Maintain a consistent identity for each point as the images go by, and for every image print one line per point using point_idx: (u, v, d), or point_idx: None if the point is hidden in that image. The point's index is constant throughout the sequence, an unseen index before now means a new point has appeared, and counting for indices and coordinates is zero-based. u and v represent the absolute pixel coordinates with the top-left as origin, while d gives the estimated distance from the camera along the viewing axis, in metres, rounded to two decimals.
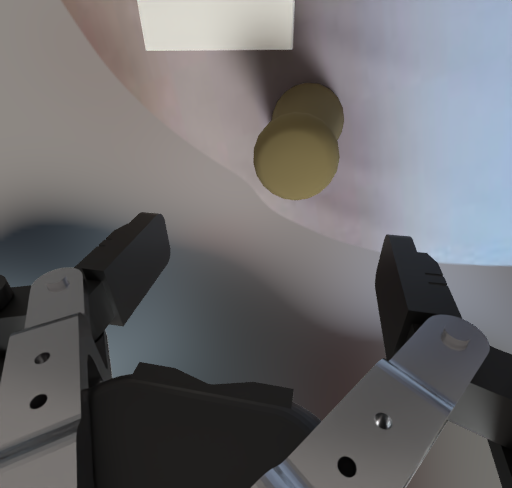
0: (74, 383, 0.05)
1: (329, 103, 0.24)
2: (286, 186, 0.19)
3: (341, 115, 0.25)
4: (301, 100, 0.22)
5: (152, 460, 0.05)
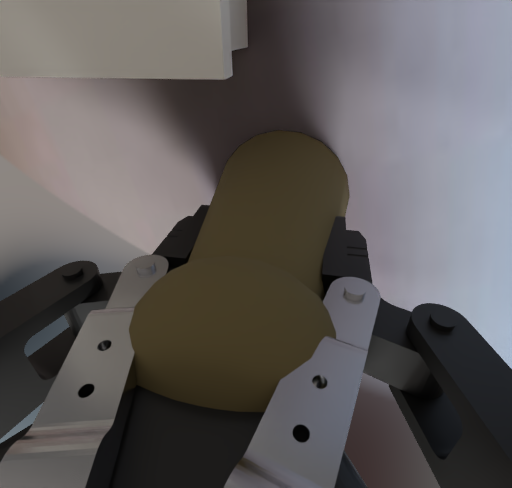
0: (120, 382, 0.05)
1: (321, 181, 0.11)
2: None
3: (345, 193, 0.13)
4: (259, 186, 0.10)
5: (152, 460, 0.05)
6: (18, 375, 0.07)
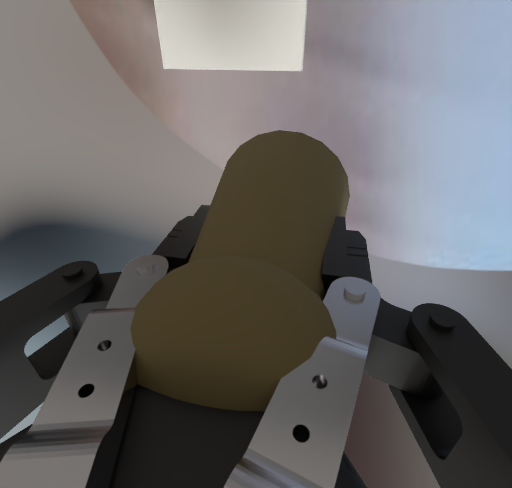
0: (120, 382, 0.05)
1: (322, 182, 0.11)
2: None
3: (345, 194, 0.13)
4: (259, 186, 0.10)
5: (152, 460, 0.05)
6: (18, 375, 0.07)
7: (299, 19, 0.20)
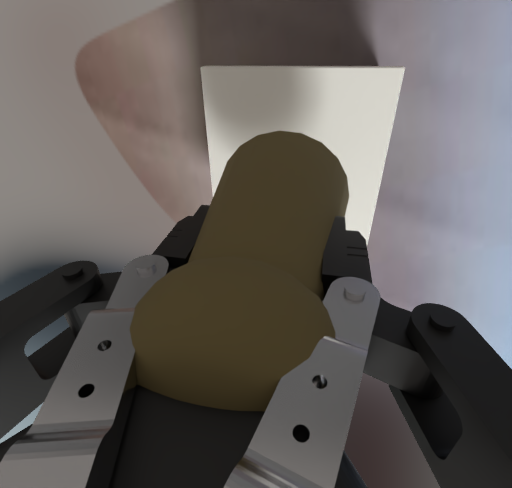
0: (120, 382, 0.05)
1: (321, 182, 0.11)
2: None
3: (345, 194, 0.13)
4: (259, 186, 0.10)
5: (152, 460, 0.05)
6: (18, 375, 0.07)
7: (369, 205, 0.19)
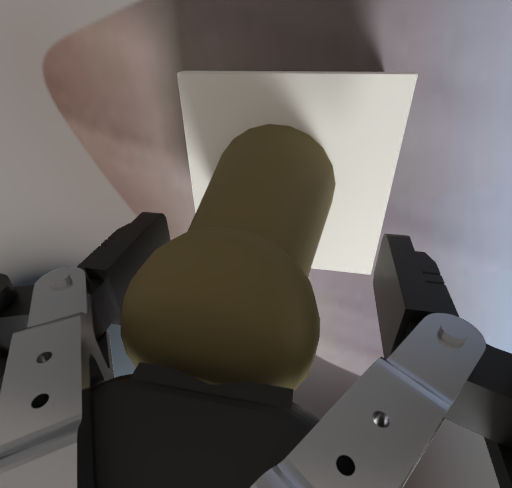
0: (76, 382, 0.05)
1: (306, 169, 0.13)
2: None
3: (330, 181, 0.14)
4: (248, 172, 0.11)
5: (152, 460, 0.05)
6: None
7: (373, 230, 0.17)
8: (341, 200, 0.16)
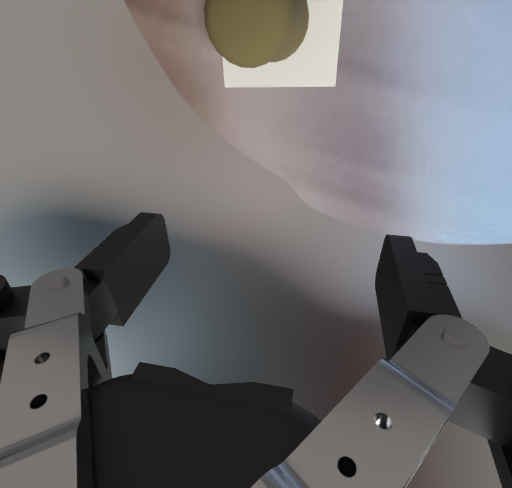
0: (74, 383, 0.05)
1: None
2: (238, 42, 0.18)
3: (304, 5, 0.25)
4: None
5: (152, 460, 0.05)
6: None
7: (334, 48, 0.27)
8: (313, 26, 0.26)
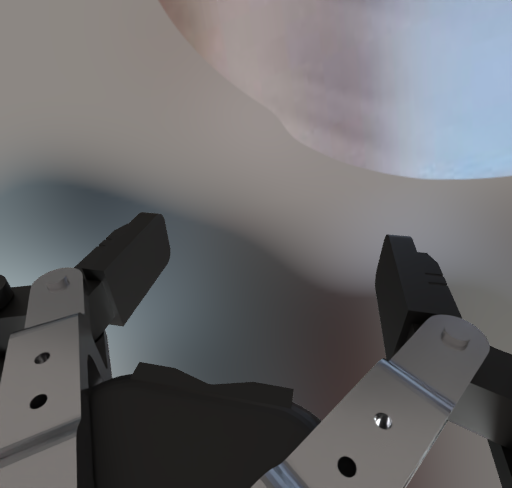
0: (74, 383, 0.05)
1: None
2: None
3: None
4: None
5: (152, 460, 0.05)
6: None
7: None
8: None
